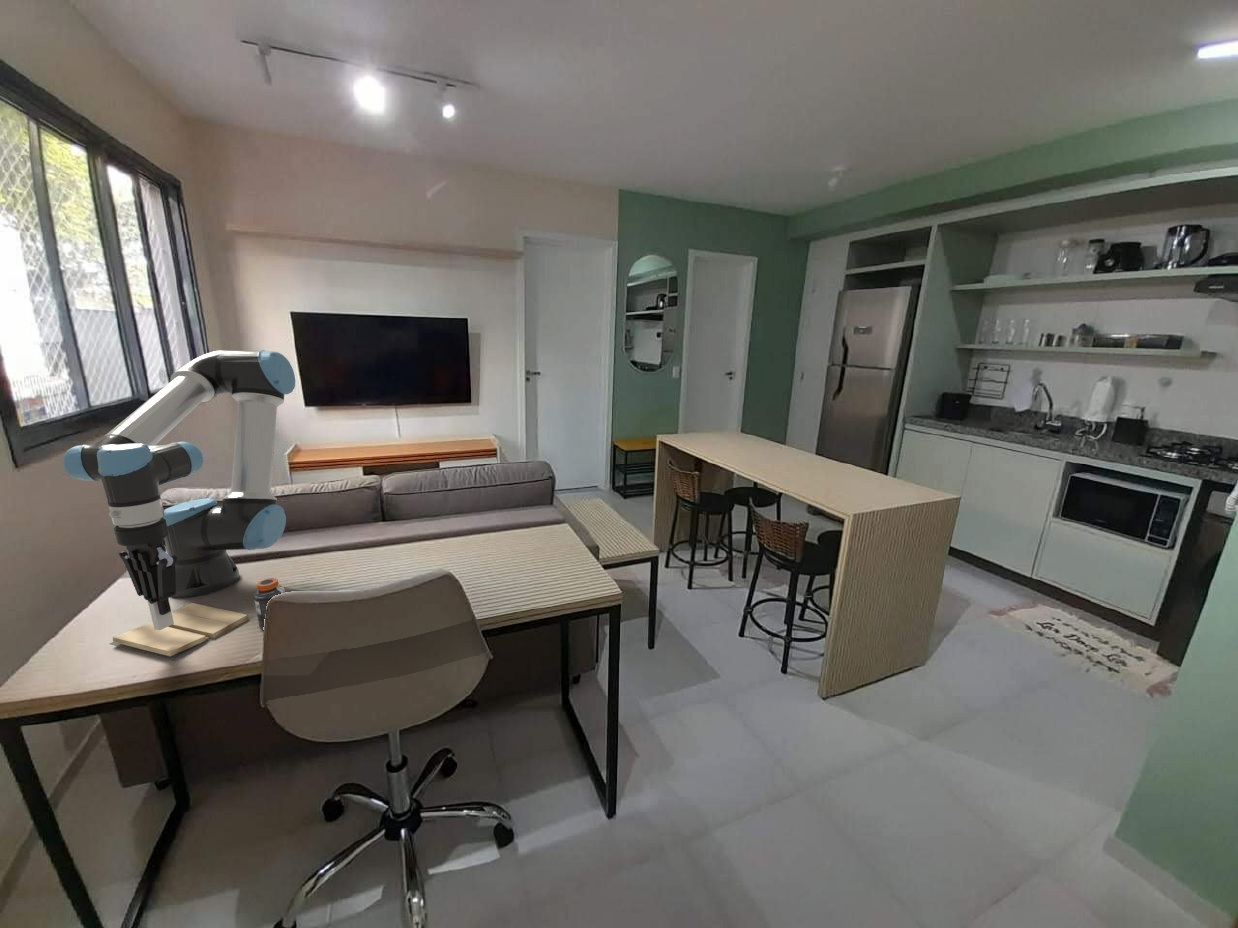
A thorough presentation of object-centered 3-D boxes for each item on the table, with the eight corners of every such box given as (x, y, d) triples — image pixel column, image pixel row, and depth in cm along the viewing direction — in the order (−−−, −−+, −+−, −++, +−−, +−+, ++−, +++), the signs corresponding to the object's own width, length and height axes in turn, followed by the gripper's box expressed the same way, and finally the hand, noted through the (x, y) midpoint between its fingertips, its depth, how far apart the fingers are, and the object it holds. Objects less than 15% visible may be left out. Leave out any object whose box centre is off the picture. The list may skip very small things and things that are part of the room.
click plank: (154, 625, 114) (153, 621, 113) (209, 639, 109) (208, 634, 109) (113, 641, 106) (112, 637, 106) (170, 656, 102) (169, 651, 102)
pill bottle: (295, 617, 119) (288, 575, 116) (280, 631, 113) (272, 587, 110) (270, 617, 118) (262, 575, 116) (253, 632, 113) (244, 587, 110)
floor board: (192, 607, 122) (191, 602, 121) (248, 619, 117) (247, 614, 117) (155, 624, 114) (154, 620, 114) (213, 638, 110) (212, 633, 109)
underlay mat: (193, 605, 123) (193, 604, 123) (253, 618, 118) (253, 617, 118) (109, 644, 107) (109, 643, 107) (175, 661, 102) (174, 660, 102)
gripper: (93, 524, 96) (121, 630, 102) (140, 532, 93) (166, 641, 99) (138, 512, 103) (162, 612, 109) (184, 518, 100) (206, 621, 106)
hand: (164, 626), depth 104 cm, fingers closed
